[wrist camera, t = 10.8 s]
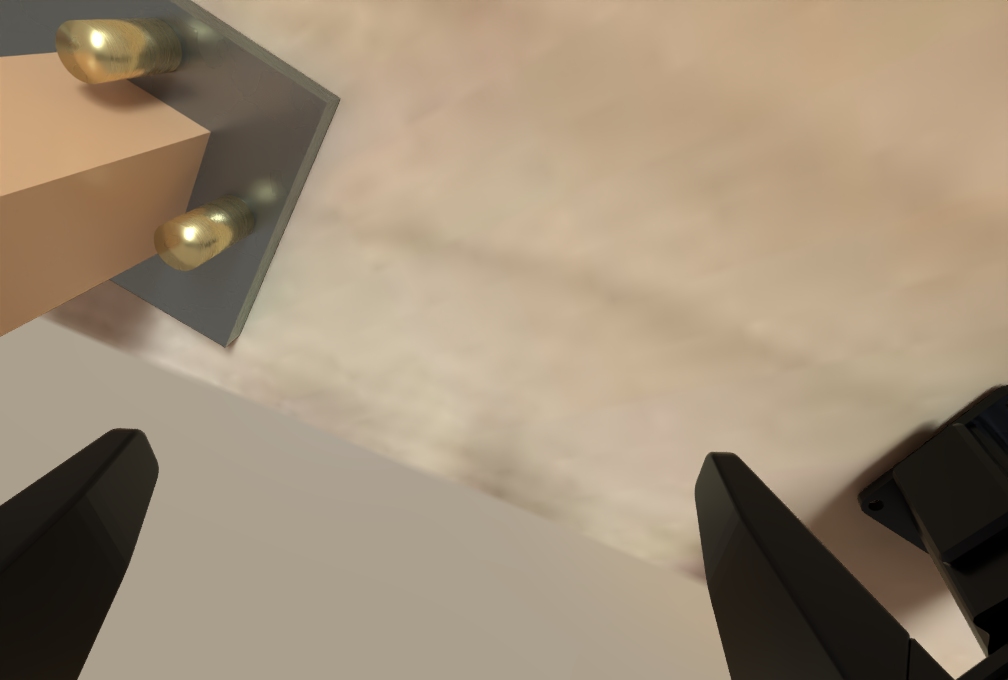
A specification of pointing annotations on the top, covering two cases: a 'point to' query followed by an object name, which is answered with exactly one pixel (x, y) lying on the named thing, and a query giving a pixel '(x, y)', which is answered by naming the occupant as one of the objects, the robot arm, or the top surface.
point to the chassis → (230, 149)
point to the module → (82, 181)
